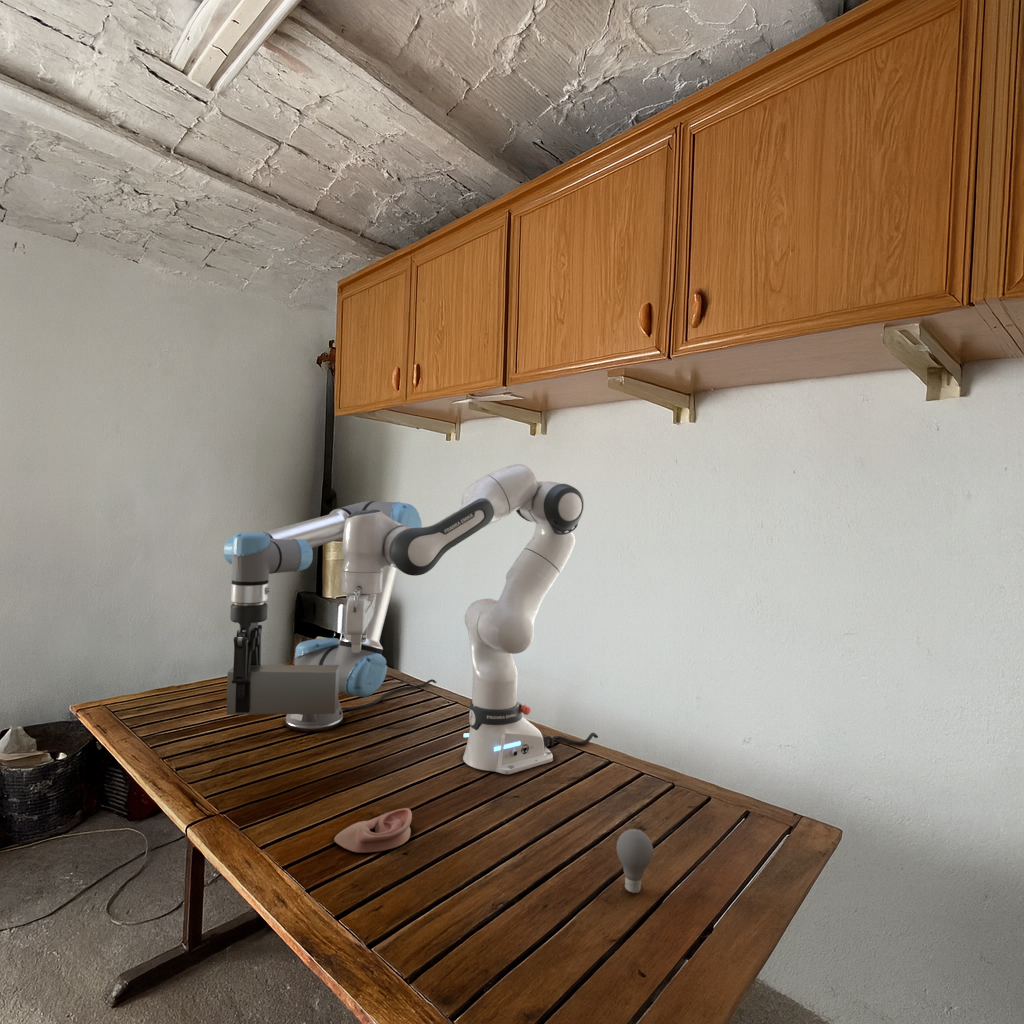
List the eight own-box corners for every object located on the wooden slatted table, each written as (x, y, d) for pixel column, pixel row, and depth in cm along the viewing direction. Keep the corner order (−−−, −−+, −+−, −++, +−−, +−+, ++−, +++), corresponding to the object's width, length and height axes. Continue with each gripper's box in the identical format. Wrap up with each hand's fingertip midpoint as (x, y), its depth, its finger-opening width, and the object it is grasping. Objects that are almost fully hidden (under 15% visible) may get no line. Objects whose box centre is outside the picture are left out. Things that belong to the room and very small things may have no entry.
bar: (226, 714, 137) (227, 671, 136) (234, 706, 142) (235, 665, 142) (334, 713, 140) (335, 671, 139) (338, 705, 145) (339, 665, 145)
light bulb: (610, 879, 108) (613, 822, 108) (644, 879, 109) (647, 822, 109) (619, 902, 102) (622, 840, 102) (655, 901, 103) (658, 840, 103)
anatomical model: (326, 826, 114) (355, 797, 125) (325, 847, 114) (354, 817, 126) (396, 837, 112) (418, 806, 123) (395, 859, 112) (417, 827, 123)
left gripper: (256, 610, 131) (252, 722, 131) (277, 596, 149) (274, 694, 149) (217, 610, 130) (214, 722, 130) (243, 595, 148) (240, 694, 148)
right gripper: (371, 591, 128) (368, 659, 128) (380, 578, 148) (378, 637, 149) (339, 590, 127) (336, 658, 128) (353, 577, 148) (350, 636, 148)
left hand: (246, 707), depth 140 cm, fingers closed on bar, 5 cm apart
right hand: (359, 646), depth 138 cm, fingers open, 8 cm apart
